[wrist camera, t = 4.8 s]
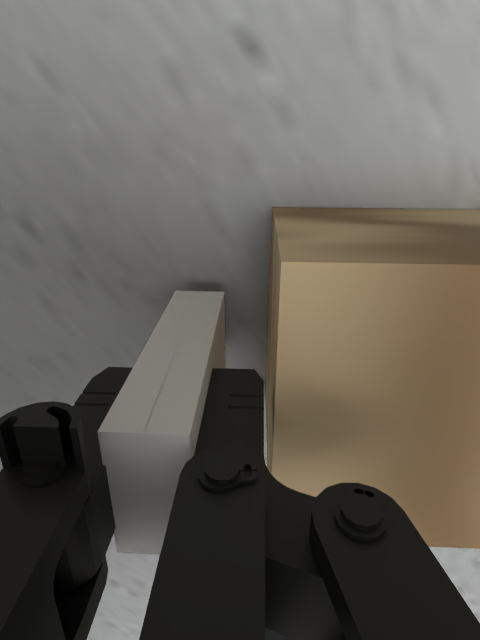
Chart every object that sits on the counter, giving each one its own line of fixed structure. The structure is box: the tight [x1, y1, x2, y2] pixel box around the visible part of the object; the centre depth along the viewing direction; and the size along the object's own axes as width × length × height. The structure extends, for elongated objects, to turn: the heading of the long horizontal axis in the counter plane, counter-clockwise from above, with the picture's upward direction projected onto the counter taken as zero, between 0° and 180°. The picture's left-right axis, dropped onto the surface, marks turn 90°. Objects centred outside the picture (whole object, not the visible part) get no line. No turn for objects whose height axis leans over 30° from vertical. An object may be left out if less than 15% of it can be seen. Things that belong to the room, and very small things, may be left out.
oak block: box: [266, 207, 480, 549], centre depth 12 cm, size 7×7×6 cm
